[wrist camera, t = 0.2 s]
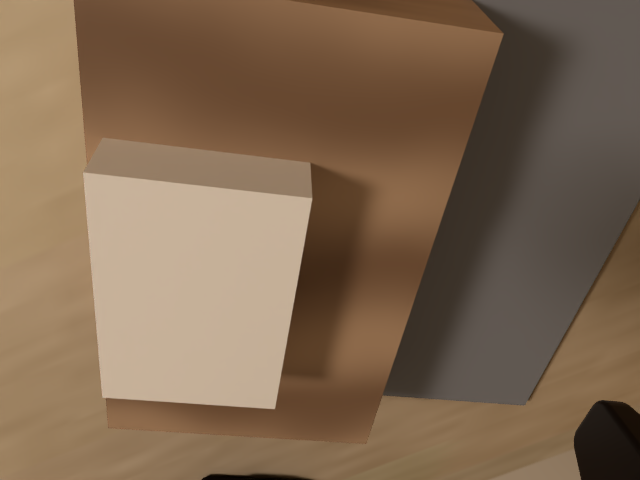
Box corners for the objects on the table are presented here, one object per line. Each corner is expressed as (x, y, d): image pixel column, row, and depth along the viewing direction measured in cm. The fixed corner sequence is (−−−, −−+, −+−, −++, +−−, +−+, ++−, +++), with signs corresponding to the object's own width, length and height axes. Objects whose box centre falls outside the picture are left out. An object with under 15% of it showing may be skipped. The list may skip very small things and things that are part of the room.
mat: (522, 399, 31) (524, 405, 31) (353, 386, 30) (354, 393, 30) (738, 6, 19) (746, 9, 19) (476, -39, 18) (480, -36, 18)
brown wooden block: (357, 373, 29) (366, 443, 26) (129, 356, 28) (108, 428, 25) (467, -5, 19) (503, 33, 16) (111, -63, 17) (71, -33, 14)
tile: (276, 366, 23) (274, 409, 21) (116, 354, 22) (102, 397, 20) (310, 162, 18) (312, 198, 16) (102, 137, 17) (83, 172, 15)
